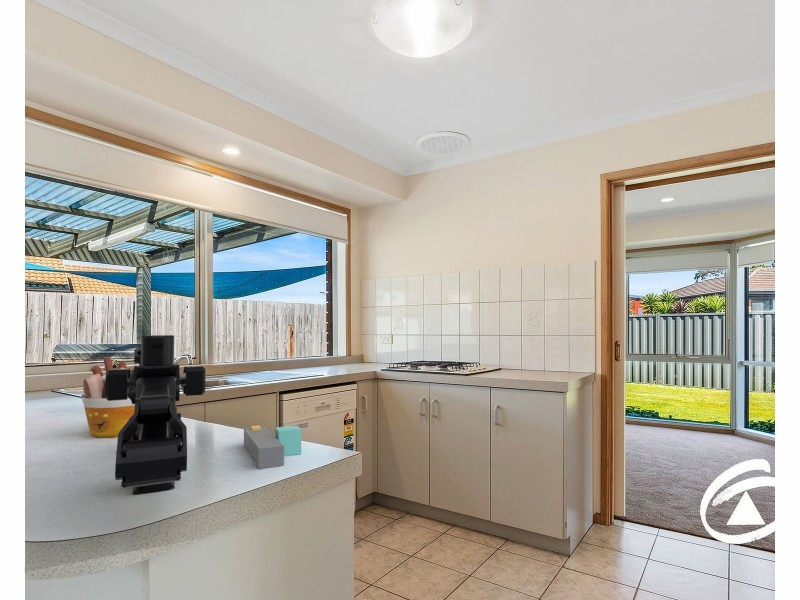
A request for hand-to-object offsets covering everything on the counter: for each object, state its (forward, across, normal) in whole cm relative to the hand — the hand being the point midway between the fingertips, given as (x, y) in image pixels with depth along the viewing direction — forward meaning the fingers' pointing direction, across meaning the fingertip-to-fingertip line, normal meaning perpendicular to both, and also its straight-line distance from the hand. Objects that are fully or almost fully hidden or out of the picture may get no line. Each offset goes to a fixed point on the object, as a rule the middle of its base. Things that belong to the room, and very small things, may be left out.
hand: (157, 378), depth 108 cm
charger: (-14, -25, +17) cm, 34 cm away
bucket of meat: (+27, +10, +17) cm, 33 cm away
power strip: (-11, -21, +17) cm, 29 cm away
